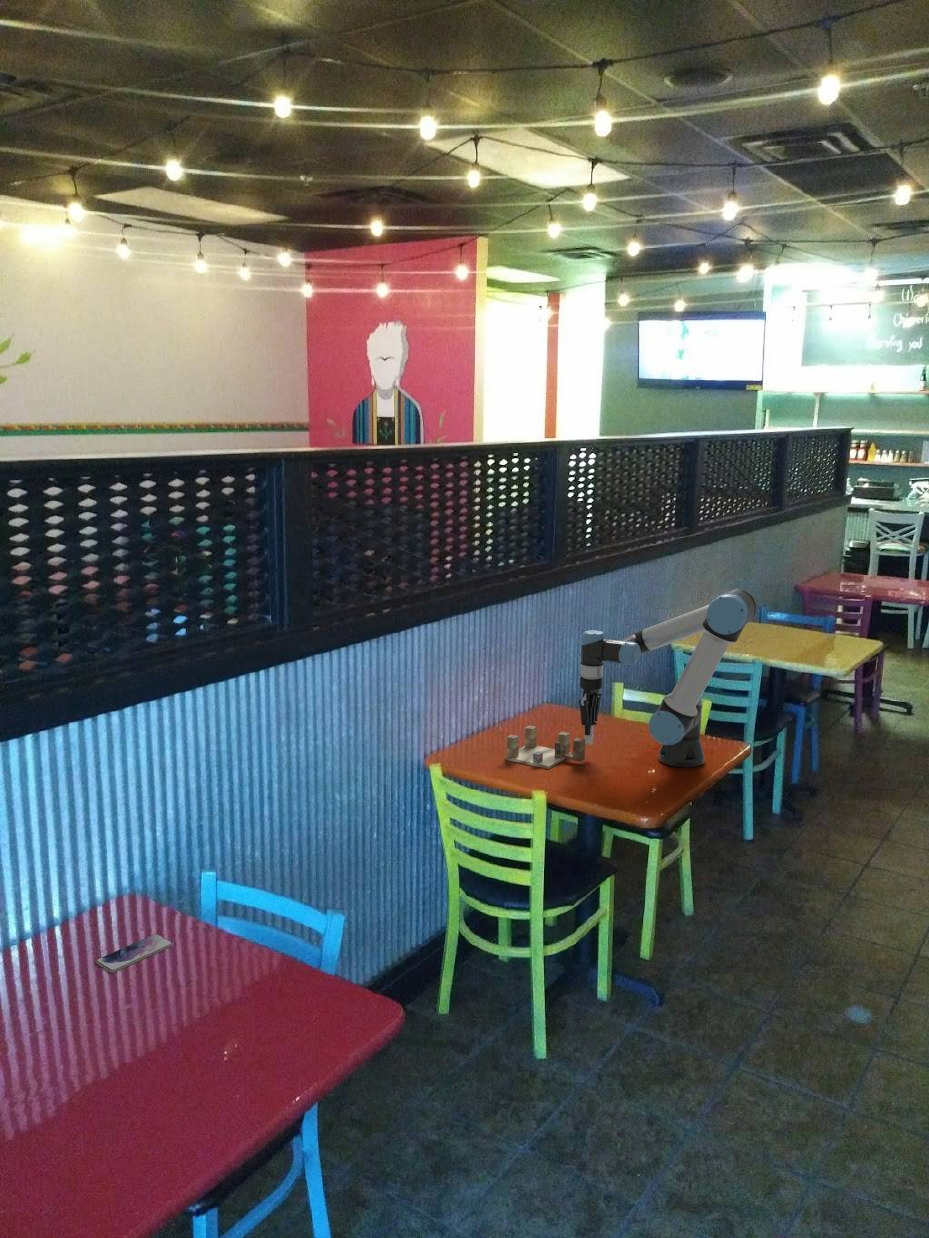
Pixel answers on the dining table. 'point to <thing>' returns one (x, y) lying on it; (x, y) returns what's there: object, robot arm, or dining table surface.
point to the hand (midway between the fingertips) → (588, 743)
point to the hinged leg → (577, 750)
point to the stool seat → (535, 749)
